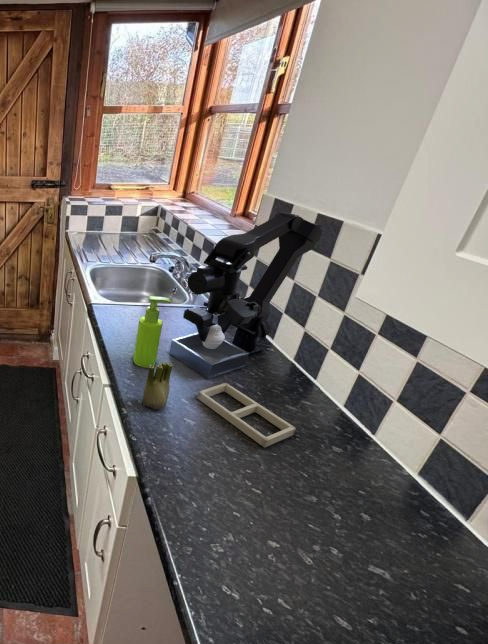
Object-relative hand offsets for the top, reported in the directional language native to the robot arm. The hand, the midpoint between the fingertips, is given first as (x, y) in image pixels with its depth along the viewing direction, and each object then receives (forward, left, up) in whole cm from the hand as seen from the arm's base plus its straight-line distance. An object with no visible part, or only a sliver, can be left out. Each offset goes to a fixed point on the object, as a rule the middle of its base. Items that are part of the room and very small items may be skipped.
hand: (211, 338), depth 111 cm
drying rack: (+11, +20, -7) cm, 24 cm away
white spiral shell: (0, 0, -3) cm, 3 cm away
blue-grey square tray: (0, 0, -7) cm, 7 cm away
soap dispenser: (+16, -6, -7) cm, 19 cm away
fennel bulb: (+27, +9, -7) cm, 30 cm away
